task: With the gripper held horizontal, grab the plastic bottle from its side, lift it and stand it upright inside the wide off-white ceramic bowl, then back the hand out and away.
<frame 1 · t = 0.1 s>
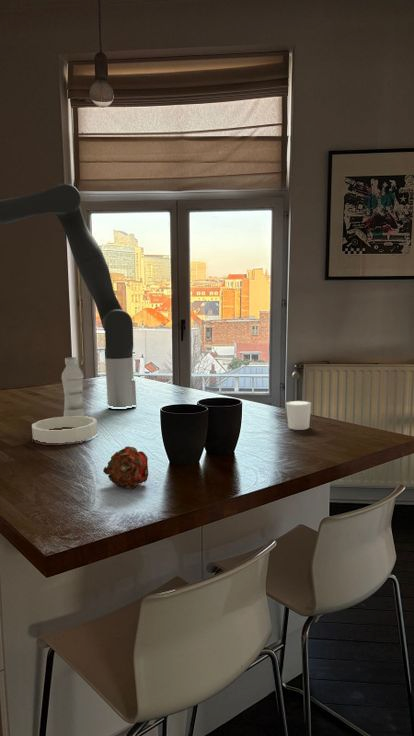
plastic bottle: (75, 424, 168), on the table
white cup: (298, 428, 155), on the table
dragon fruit: (128, 485, 113), on the table
bowl: (65, 437, 152), on the table
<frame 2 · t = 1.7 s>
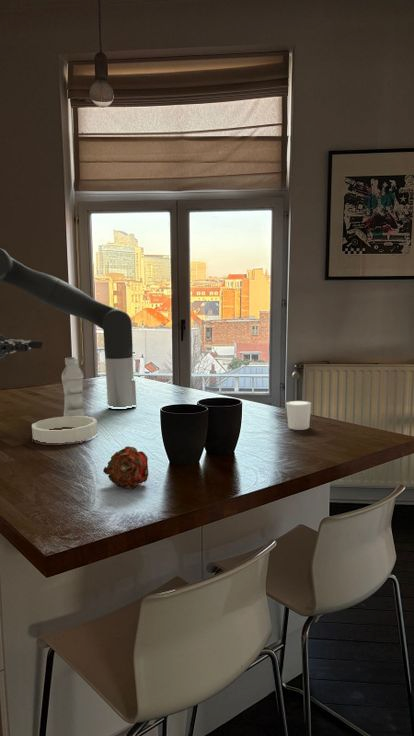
hand: (35, 346, 167), 24 cm above the table, tool horizontal, fingers open, 8 cm apart
nothing on the table moved.
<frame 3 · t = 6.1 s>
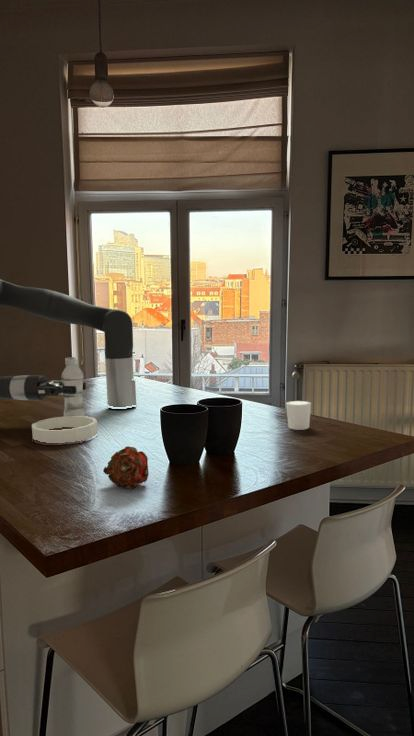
hand: (80, 387, 166), 11 cm above the table, tool horizontal, fingers closed on plastic bottle, 6 cm apart
plastic bottle: (75, 424, 168), on the table, touching gripper
everything else where it was.
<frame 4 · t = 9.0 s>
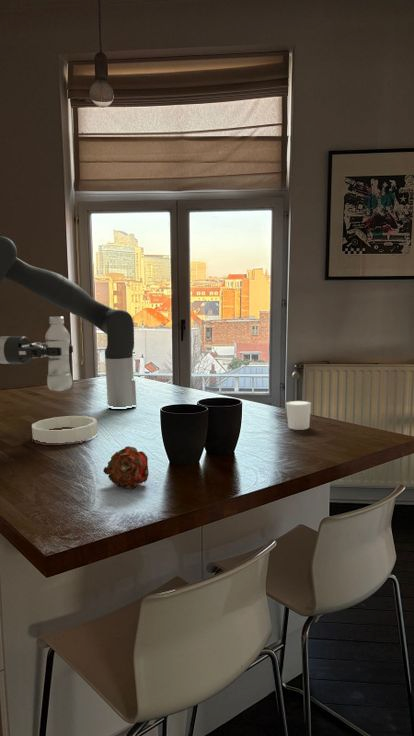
hand: (66, 350, 149), 24 cm above the table, tool horizontal, fingers closed on plastic bottle, 6 cm apart
plastic bottle: (60, 391, 151), point 13 cm above the table, touching gripper
everything else where it was.
when the fingers open (13 cm above the table, at t = 12.0 s): plastic bottle drops 1 cm, resting on bowl.
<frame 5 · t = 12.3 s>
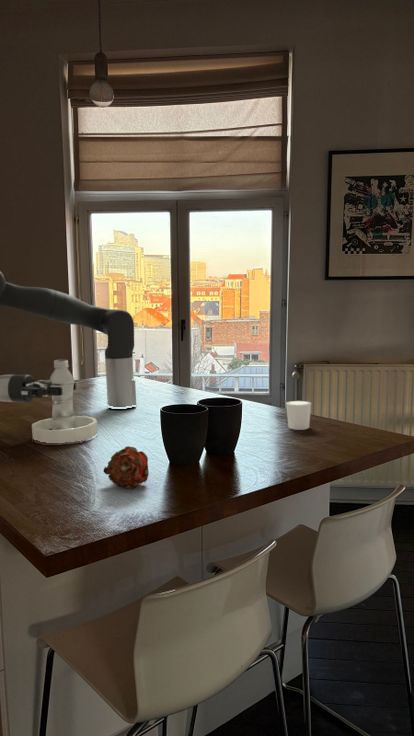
hand: (69, 388, 150), 13 cm above the table, tool horizontal, fingers open, 8 cm apart
plastic bottle: (64, 434, 152), point 1 cm above the table, touching bowl
everything else where it was.
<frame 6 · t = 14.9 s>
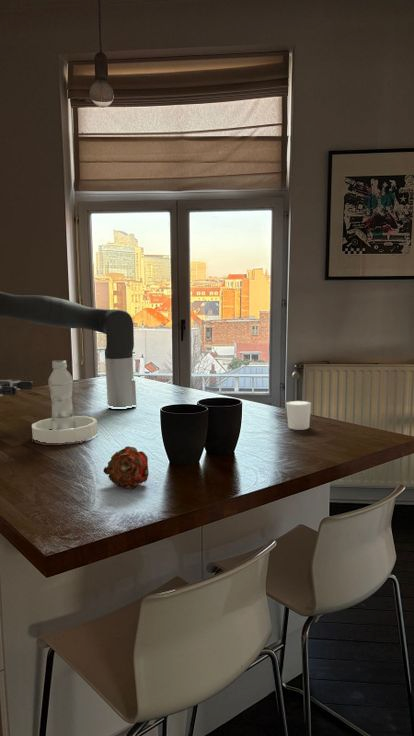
hand: (24, 388, 153), 14 cm above the table, tool horizontal, fingers open, 8 cm apart
nothing on the table moved.
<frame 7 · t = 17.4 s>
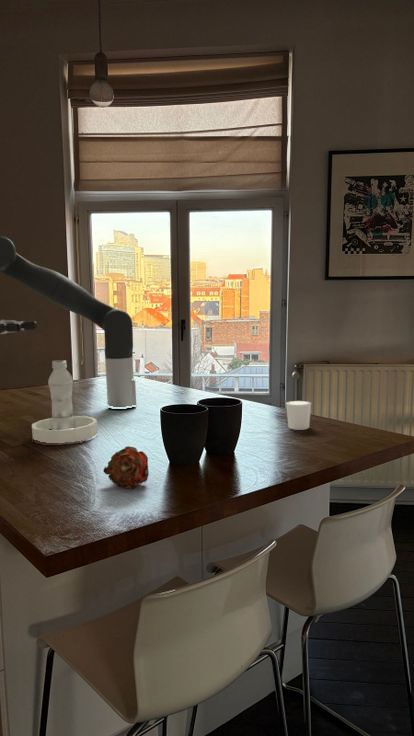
hand: (28, 326, 157), 30 cm above the table, tool horizontal, fingers open, 8 cm apart
nothing on the table moved.
at the end: plastic bottle inside the target area on the bowl (0.3 cm from its centre), point 0.8 cm above the bowl's base; plastic bottle tilted 0°; the gripper is holding nothing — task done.
